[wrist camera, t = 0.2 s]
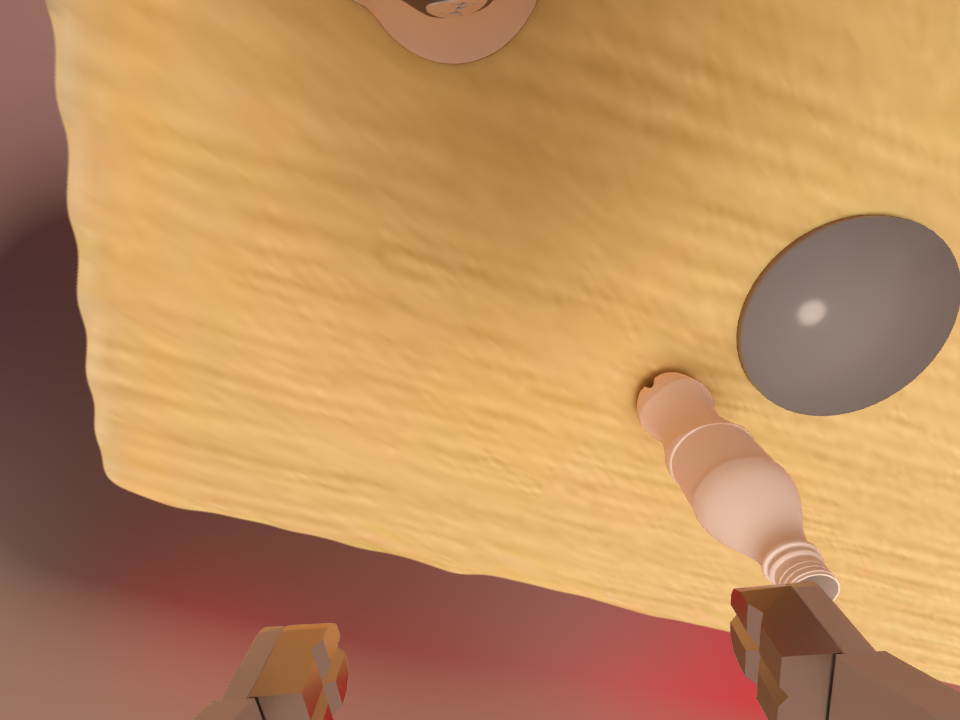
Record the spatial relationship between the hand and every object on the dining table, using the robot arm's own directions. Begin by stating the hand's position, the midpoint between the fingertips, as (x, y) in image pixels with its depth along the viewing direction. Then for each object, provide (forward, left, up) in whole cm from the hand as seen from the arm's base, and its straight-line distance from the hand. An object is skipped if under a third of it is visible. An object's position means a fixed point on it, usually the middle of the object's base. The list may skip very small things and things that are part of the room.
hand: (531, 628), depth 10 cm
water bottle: (+17, +16, -39) cm, 45 cm away
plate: (+11, +33, -39) cm, 52 cm away
